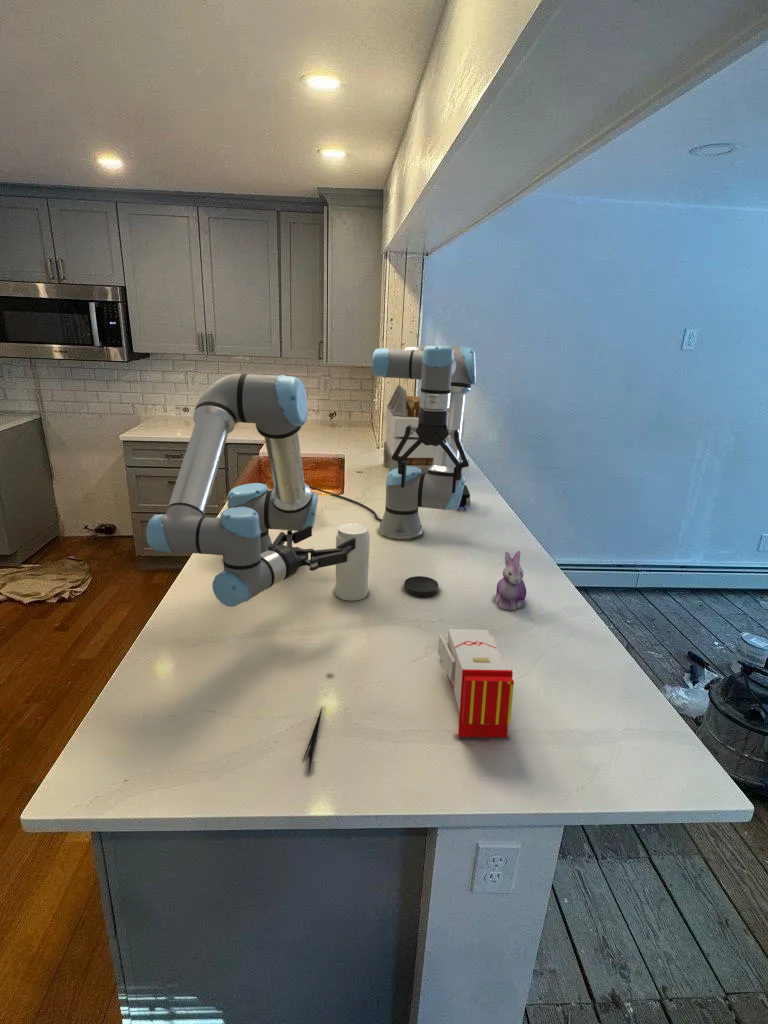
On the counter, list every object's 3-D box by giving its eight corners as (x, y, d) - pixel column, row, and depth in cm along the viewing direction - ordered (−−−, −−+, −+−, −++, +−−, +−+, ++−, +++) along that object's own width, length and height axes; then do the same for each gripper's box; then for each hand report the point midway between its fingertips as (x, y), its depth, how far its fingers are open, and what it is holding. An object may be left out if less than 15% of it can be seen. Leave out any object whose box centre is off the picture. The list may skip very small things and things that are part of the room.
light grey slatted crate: (382, 463, 289) (386, 382, 275) (445, 464, 293) (451, 384, 279) (390, 482, 257) (394, 392, 243) (460, 483, 261) (468, 394, 247)
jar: (367, 585, 162) (369, 522, 155) (367, 600, 153) (370, 535, 147) (336, 584, 161) (337, 522, 155) (334, 600, 153) (335, 534, 146)
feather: (331, 679, 122) (336, 673, 122) (307, 777, 96) (313, 769, 95) (324, 675, 122) (329, 669, 121) (298, 772, 95) (304, 764, 95)
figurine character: (470, 515, 225) (465, 499, 238) (472, 498, 221) (467, 483, 235) (453, 515, 224) (449, 499, 238) (455, 497, 221) (451, 482, 234)
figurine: (508, 614, 149) (515, 562, 144) (485, 597, 158) (490, 547, 153) (536, 607, 153) (543, 557, 148) (511, 591, 162) (518, 542, 157)
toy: (488, 613, 130) (523, 677, 101) (484, 667, 133) (517, 744, 104) (435, 612, 130) (455, 676, 101) (432, 666, 133) (451, 743, 103)
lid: (413, 600, 155) (413, 594, 154) (398, 584, 163) (398, 578, 163) (444, 594, 159) (444, 588, 158) (428, 579, 167) (428, 574, 166)
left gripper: (235, 566, 133) (293, 538, 150) (319, 596, 121) (373, 562, 138) (233, 537, 131) (293, 512, 148) (319, 564, 119) (374, 534, 136)
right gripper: (382, 407, 143) (379, 487, 150) (482, 415, 138) (474, 498, 145) (389, 403, 150) (385, 480, 157) (484, 410, 145) (476, 489, 152)
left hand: (332, 536), depth 143 cm, fingers open, 13 cm apart
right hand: (428, 488), depth 151 cm, fingers open, 13 cm apart
